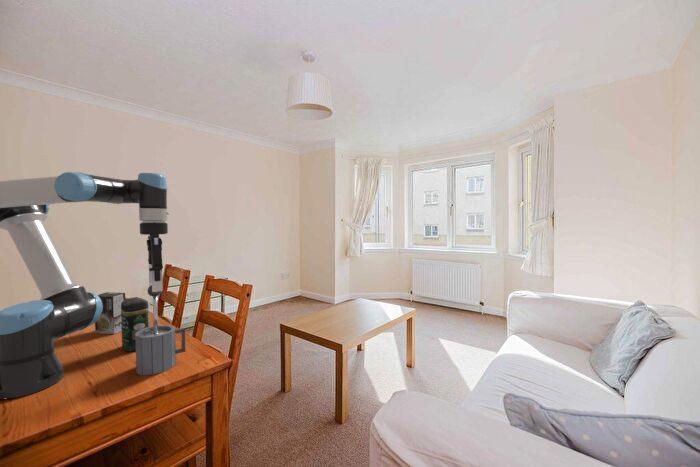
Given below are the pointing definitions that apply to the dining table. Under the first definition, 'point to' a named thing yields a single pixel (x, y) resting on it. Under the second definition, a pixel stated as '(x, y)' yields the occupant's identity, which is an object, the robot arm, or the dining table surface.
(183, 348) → the grey ribbed mug
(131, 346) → the coffee jar
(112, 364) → the dining table surface
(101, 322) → the coffee box
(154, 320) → the plunger
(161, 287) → the robot arm
